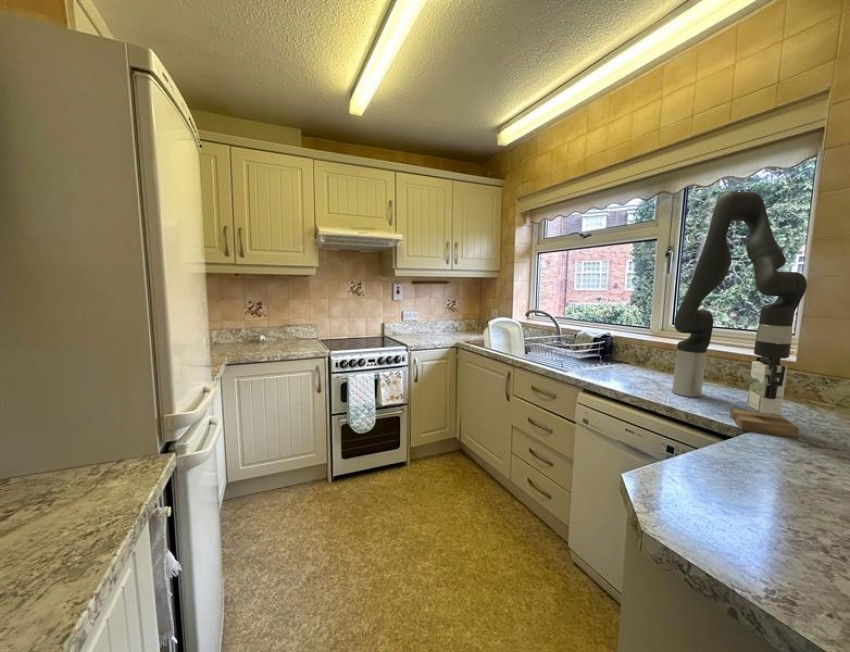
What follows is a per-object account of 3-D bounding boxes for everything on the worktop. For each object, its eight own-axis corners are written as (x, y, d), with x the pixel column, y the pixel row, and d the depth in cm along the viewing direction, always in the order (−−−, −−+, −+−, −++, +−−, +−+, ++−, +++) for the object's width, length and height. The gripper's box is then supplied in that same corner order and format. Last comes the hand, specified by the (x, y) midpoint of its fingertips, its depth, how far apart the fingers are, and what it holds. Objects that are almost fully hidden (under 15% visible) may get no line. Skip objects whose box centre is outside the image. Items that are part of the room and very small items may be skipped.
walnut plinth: (729, 416, 115) (730, 407, 115) (779, 424, 110) (780, 414, 109) (741, 430, 105) (743, 420, 104) (797, 438, 99) (798, 428, 99)
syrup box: (782, 414, 103) (789, 366, 101) (758, 412, 104) (765, 364, 103) (767, 408, 109) (774, 361, 107) (745, 406, 110) (751, 360, 108)
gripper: (748, 336, 112) (741, 387, 114) (765, 342, 99) (757, 399, 101) (780, 338, 109) (772, 391, 111) (802, 345, 96) (793, 404, 98)
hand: (765, 395), depth 106 cm, fingers closed on syrup box, 6 cm apart
